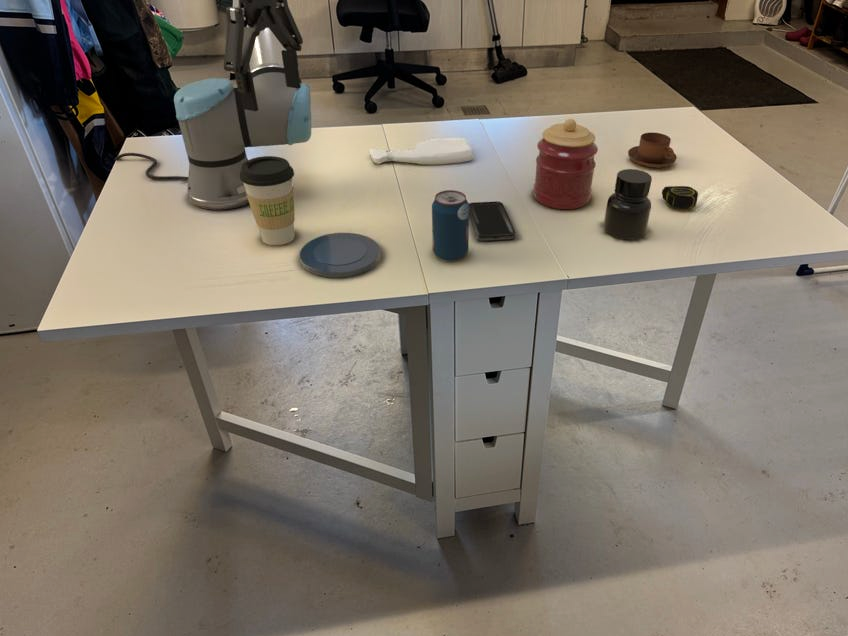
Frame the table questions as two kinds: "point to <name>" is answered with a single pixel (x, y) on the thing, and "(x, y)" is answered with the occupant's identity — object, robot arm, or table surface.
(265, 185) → the coffee cup
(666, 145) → the cup and saucer
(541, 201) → the kitchen canister
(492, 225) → the phone
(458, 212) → the soda can
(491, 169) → the table surface
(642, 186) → the ink bottle
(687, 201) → the tape measure
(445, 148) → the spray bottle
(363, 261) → the plate
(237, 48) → the robot arm
